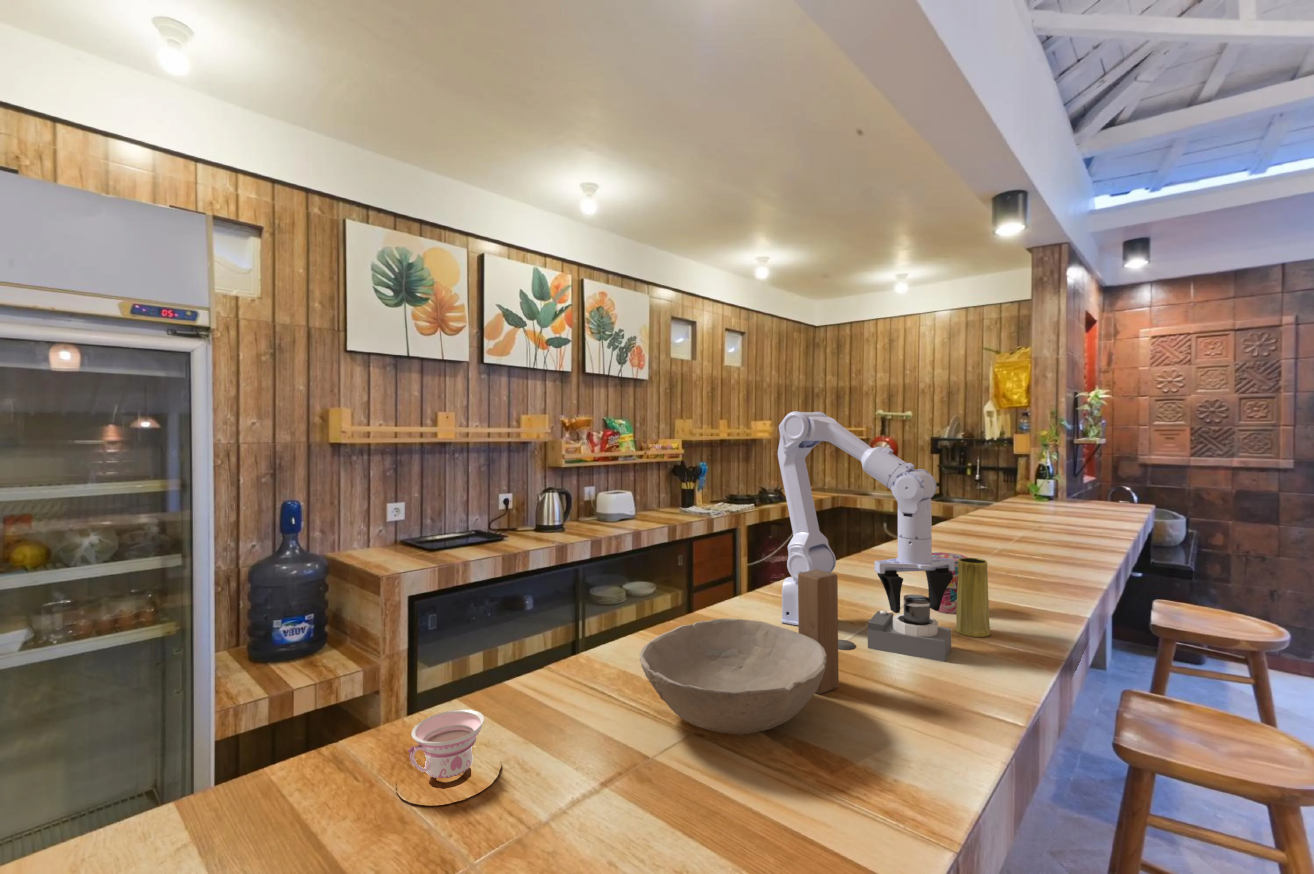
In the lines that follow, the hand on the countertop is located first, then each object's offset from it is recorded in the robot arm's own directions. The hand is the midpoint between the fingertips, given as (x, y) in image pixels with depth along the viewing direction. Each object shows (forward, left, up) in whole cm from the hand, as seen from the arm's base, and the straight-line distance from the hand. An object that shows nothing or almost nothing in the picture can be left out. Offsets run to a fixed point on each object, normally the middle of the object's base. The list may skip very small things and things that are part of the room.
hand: (914, 610), depth 110 cm
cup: (+2, +28, -7) cm, 29 cm away
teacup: (-39, -72, -7) cm, 82 cm away
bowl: (-17, -41, -7) cm, 45 cm away
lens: (0, 0, -4) cm, 4 cm away
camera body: (-1, 0, -7) cm, 7 cm away
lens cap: (-12, -5, -7) cm, 15 cm away
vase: (+8, +15, -7) cm, 18 cm away
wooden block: (-12, -24, -7) cm, 28 cm away
